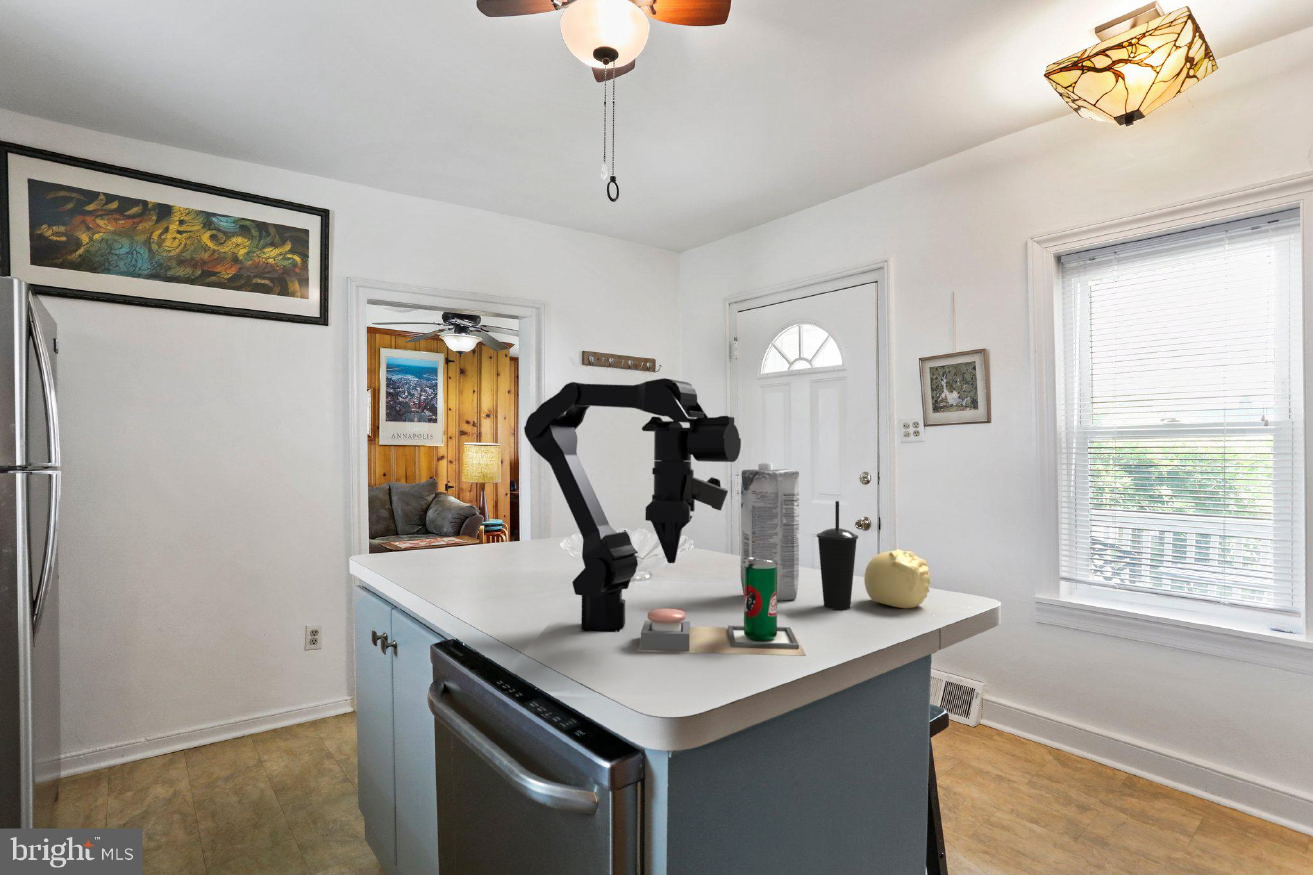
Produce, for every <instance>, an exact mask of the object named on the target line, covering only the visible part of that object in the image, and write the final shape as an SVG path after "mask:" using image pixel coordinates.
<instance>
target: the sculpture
mask: <svg viewBox="0 0 1313 875" xmlns="http://www.w3.org/2000/svg"><path fill="white" fill-rule="evenodd" d="M927 562H928V561H927V560H925V559H923V558H921V557H919V556H917V555H916V553H915V552H914V551H910V550H908V551H906V550H901V549H900V548H896V549H895V550H889V551H883V552H880V553H878V554H876V555H874V556H873V557H872V558H871V559H870V561H869V562H868V564H867V565H866V566H867V567H866V568H865V570H864V576H863V577H864V587H865V591H866V593H867V595H868V597H869V599H870V600H872V601H873V602H875V603H878V604H883V605H886V606H891V607H894V608H900V609H913V608H916V607H917V606H919V605H921V604H923V603H924V601H925V599H926V598H927V597H928V593H929V592H930V588H929V586H930V584H931V573H930V572H929V571H930V569H929V566H928V563H927Z"/></svg>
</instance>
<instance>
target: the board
mask: <svg viewBox="0 0 1313 875" xmlns="http://www.w3.org/2000/svg"><path fill="white" fill-rule="evenodd" d="M636 652H647V653H648V652H650V653H652V652H653V653H678V654H679V653H682V654H683V653H687V654H720V655H721V654H722V655H723V654H726V655H759V656H760V655H761V656H764V655H765V656H767V655H768V656H793V657H794V656H799V657H806V656H807V654H806V653H805V651H804V648H803V646H802V645H801V643H800V641H799V639H798V637H797V635H796V632H795V631H794V629H793V628H791V627H790V626H777V636H776V637H775V638H774V639H773V640H771V641H753V640H750V639H748V638H747V637H746V636H745V635H744V625H727V627H726V626H725V627H721V626H720V627H715V626H690V648H689V651H656V650H641V639H640V640H639V644H638V646H637V650H636Z"/></svg>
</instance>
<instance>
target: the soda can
mask: <svg viewBox="0 0 1313 875" xmlns="http://www.w3.org/2000/svg"><path fill="white" fill-rule="evenodd" d="M746 561H747V562H746V564H745V565H744V593H743V626H744V635H745V636H746V637H747V638H748V639H750V640H753V641H771V640H773V639H774V638H775V637H776V636H777V627H778V601H777V566H776V565H775V563H774V562H775V560H774V559H771V558H762V557H754V558H748V559H746Z"/></svg>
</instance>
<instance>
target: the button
mask: <svg viewBox="0 0 1313 875" xmlns="http://www.w3.org/2000/svg"><path fill="white" fill-rule="evenodd" d="M647 620H650V621H652V631H670V632H681V621H684V620H686V612H685V611H683V610H680V609H676V608H656V609H651V610H649V611H648V612H647Z"/></svg>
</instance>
